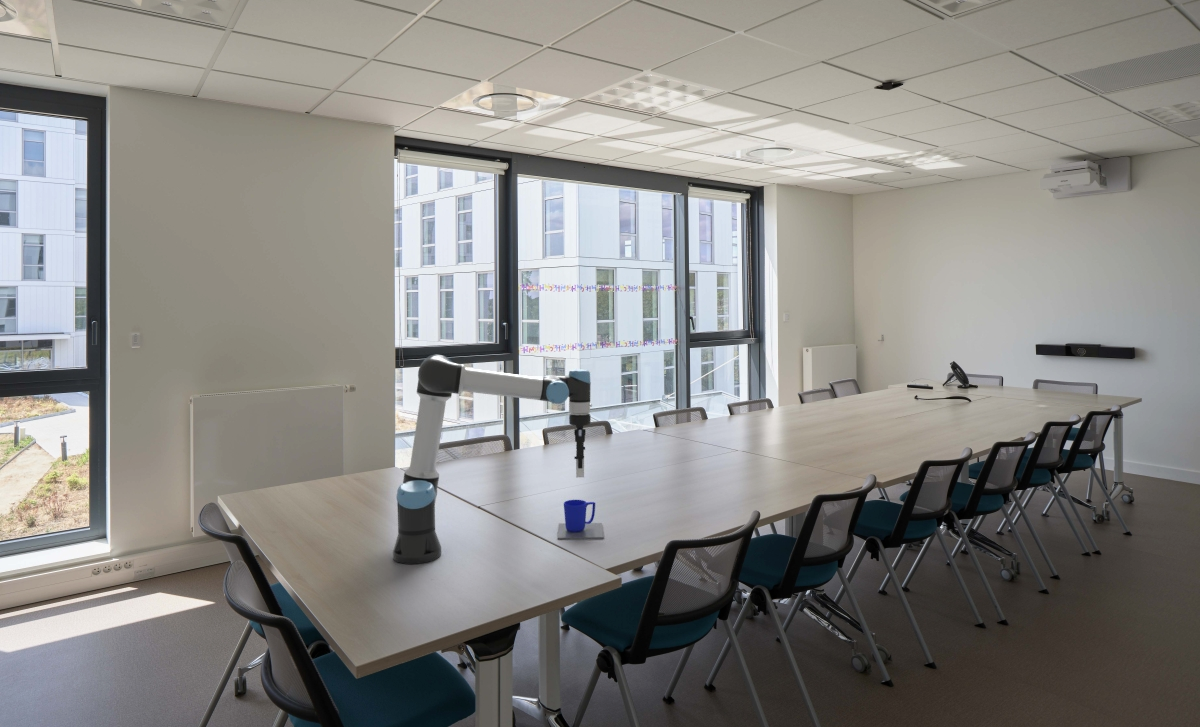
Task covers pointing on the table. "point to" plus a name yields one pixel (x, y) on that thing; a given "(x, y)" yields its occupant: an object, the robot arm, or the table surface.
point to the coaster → (581, 532)
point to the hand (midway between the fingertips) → (580, 472)
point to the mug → (577, 514)
